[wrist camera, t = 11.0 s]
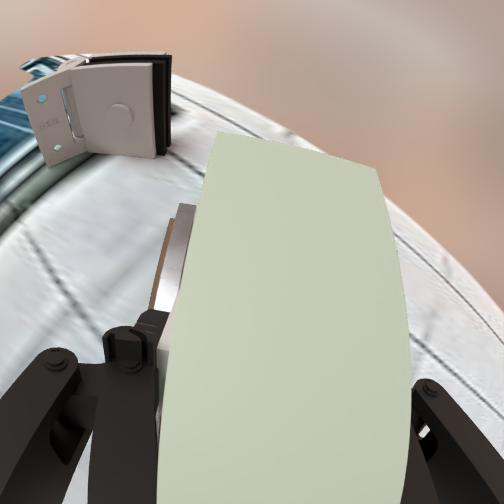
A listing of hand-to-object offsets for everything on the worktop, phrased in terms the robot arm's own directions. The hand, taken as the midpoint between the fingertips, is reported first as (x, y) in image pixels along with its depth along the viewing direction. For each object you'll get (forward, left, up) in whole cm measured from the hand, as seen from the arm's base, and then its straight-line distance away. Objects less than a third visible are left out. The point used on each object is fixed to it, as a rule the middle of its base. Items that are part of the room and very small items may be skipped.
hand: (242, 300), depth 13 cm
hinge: (-15, +15, -6) cm, 22 cm away
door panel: (0, -4, -3) cm, 5 cm away
